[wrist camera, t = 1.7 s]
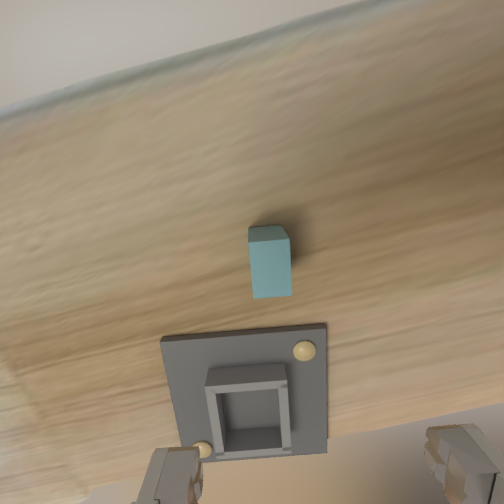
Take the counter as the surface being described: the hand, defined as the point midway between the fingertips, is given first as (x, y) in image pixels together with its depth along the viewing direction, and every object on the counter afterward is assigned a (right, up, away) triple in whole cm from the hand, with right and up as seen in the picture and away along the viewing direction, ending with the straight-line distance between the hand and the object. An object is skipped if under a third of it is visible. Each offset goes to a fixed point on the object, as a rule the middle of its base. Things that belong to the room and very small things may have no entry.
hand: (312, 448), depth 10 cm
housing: (-2, -14, +30) cm, 34 cm away
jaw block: (0, +7, +24) cm, 25 cm away
